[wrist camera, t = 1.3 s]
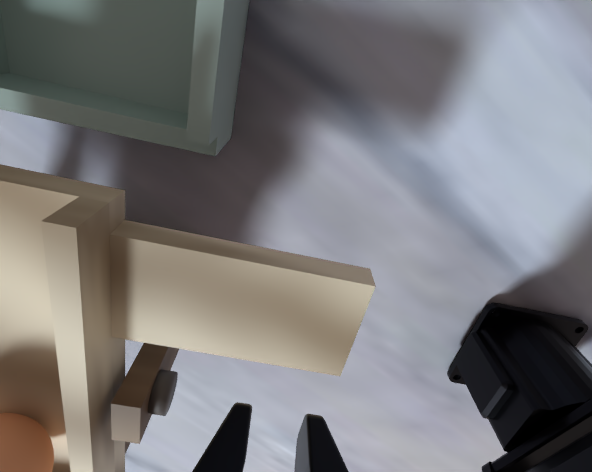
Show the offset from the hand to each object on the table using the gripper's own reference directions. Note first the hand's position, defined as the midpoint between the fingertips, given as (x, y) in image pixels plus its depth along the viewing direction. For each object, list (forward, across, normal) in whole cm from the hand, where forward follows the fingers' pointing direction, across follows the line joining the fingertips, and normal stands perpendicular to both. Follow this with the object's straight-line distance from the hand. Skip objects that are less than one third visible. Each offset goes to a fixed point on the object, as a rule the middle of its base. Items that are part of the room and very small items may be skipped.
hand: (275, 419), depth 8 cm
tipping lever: (+7, +5, +5) cm, 10 cm away
